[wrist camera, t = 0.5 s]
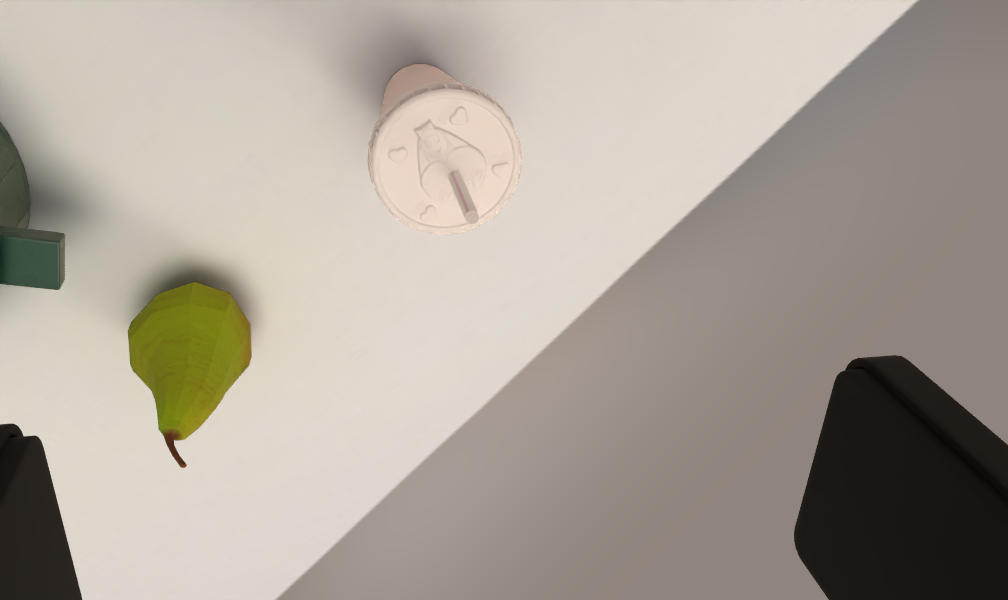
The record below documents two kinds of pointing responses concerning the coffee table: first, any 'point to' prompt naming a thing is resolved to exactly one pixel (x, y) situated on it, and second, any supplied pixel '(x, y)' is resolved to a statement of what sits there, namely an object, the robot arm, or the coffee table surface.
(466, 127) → the smoothie
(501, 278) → the coffee table surface
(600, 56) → the coffee table surface
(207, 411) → the fruit
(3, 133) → the pot
